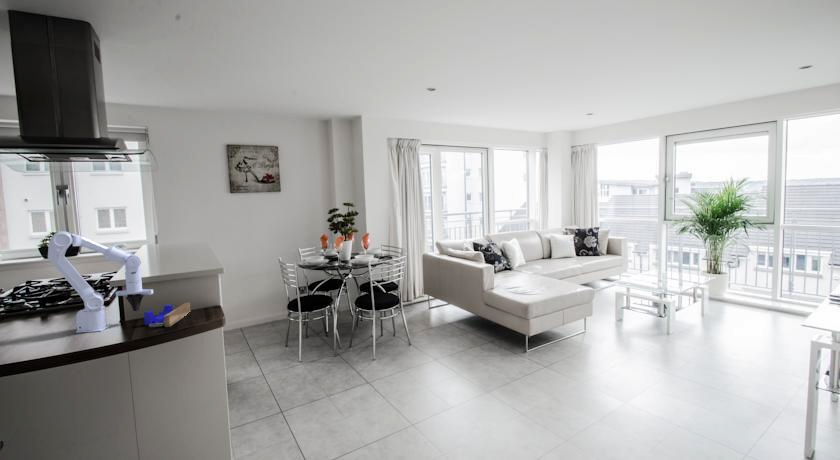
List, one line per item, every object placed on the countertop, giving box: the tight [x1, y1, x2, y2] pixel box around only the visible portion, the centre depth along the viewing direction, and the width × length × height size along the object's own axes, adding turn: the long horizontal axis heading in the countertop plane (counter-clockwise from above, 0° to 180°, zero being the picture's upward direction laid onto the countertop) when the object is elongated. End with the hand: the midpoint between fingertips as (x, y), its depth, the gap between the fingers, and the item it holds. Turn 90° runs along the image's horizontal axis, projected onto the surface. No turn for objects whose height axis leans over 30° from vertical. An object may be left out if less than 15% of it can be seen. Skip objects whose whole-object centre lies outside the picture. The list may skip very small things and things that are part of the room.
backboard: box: [164, 302, 192, 328], centre depth 177 cm, size 2×21×5 cm, turn 9°
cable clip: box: [143, 304, 174, 326], centre depth 175 cm, size 12×4×6 cm, turn 169°
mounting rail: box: [148, 320, 165, 328], centre depth 176 cm, size 7×18×2 cm, turn 9°
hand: (136, 310), depth 174 cm, fingers closed
